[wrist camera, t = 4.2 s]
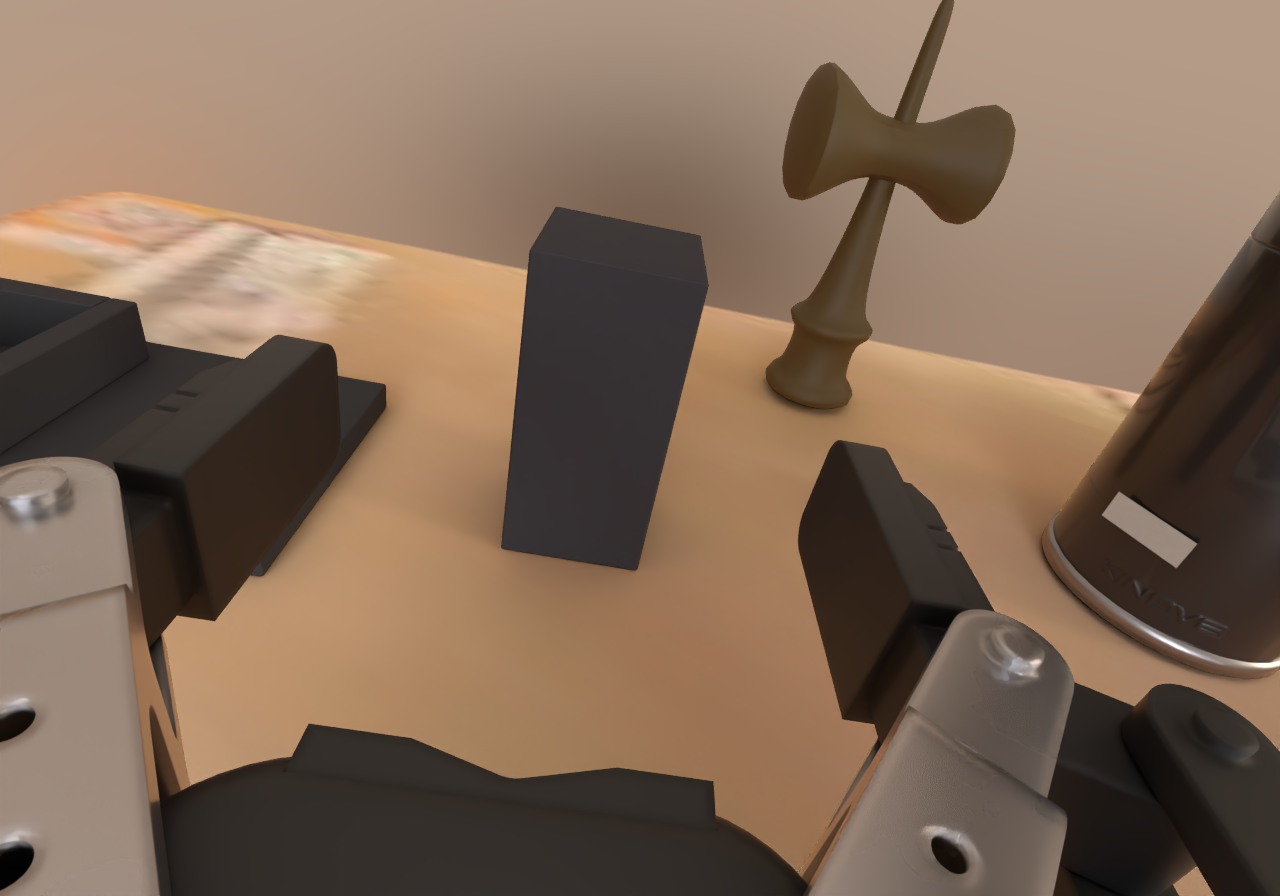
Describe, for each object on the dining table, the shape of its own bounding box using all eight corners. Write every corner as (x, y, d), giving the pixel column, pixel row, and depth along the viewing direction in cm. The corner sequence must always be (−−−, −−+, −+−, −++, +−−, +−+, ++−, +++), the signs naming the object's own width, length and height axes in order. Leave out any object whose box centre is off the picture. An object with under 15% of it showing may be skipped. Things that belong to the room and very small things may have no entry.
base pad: (386, 406, 30) (385, 332, 28) (262, 577, 21) (246, 484, 19) (-31, 333, 29) (-64, 250, 27) (-362, 480, 19) (-451, 369, 17)
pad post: (641, 490, 28) (701, 234, 22) (636, 571, 24) (709, 284, 18) (525, 470, 28) (555, 206, 22) (500, 549, 24) (529, 248, 18)
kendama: (718, 360, 41) (825, -28, 30) (861, 380, 43) (1012, 17, 32) (736, 409, 36) (872, -35, 25) (897, 430, 38) (1090, 20, 27)
